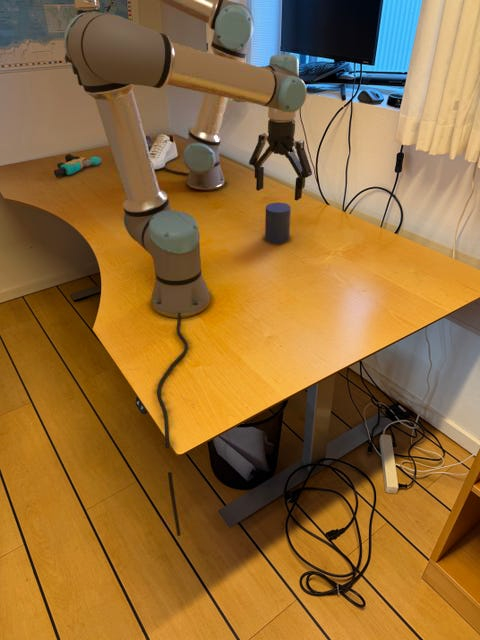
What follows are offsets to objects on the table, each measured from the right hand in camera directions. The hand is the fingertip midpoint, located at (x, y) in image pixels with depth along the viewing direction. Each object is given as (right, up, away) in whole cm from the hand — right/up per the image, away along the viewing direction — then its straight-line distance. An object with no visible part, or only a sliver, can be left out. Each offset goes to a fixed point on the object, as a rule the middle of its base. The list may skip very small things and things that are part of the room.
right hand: (100, 83), depth 162 cm
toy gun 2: (+4, +6, +77) cm, 77 cm away
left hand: (+59, -43, -20) cm, 76 cm away
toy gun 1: (-28, -14, +50) cm, 59 cm away
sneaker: (+10, -10, +55) cm, 57 cm away
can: (+60, -55, -7) cm, 81 cm away
